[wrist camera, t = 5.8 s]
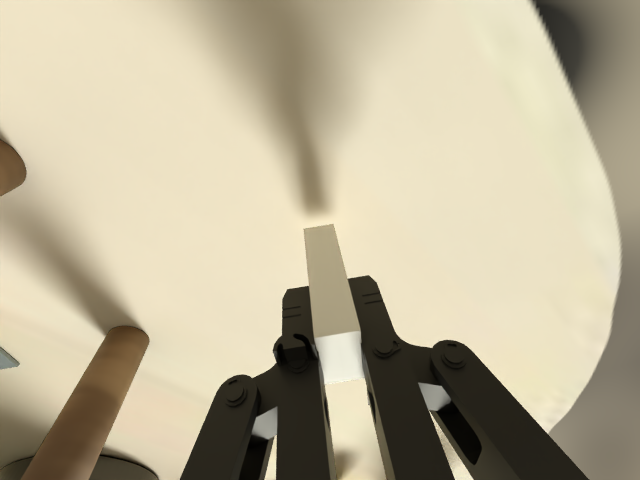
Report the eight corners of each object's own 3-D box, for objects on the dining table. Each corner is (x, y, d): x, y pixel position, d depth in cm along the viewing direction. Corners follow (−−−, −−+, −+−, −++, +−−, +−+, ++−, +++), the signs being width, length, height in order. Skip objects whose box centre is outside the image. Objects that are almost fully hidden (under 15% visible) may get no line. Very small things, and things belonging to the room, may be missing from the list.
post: (119, 353, 21) (31, 522, 14) (99, 329, 20) (-12, 504, 12) (155, 347, 21) (87, 513, 14) (138, 323, 20) (51, 494, 12)
